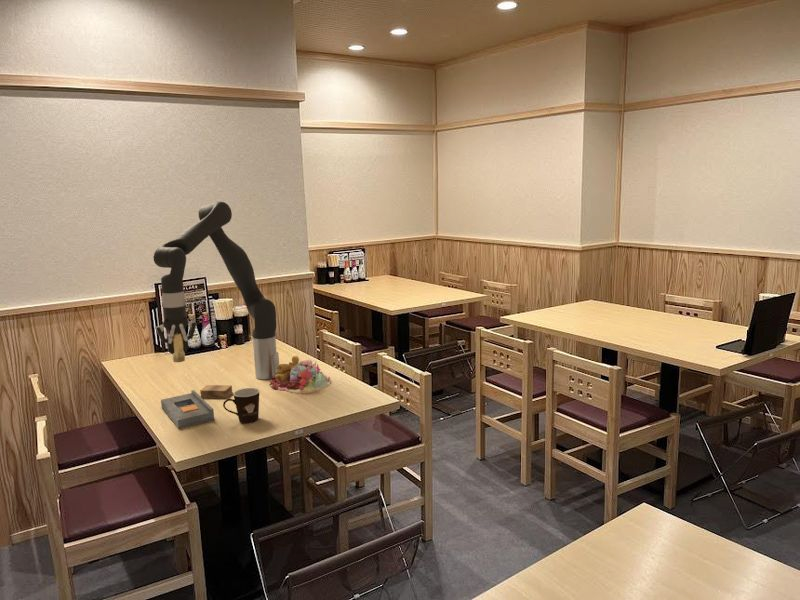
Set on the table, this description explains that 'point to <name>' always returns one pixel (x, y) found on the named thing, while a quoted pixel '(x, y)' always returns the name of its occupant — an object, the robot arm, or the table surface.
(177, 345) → the brass peg
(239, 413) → the coffee mug
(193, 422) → the rack plate
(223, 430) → the table surface
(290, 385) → the candy landscape model
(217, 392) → the brown wooden block
